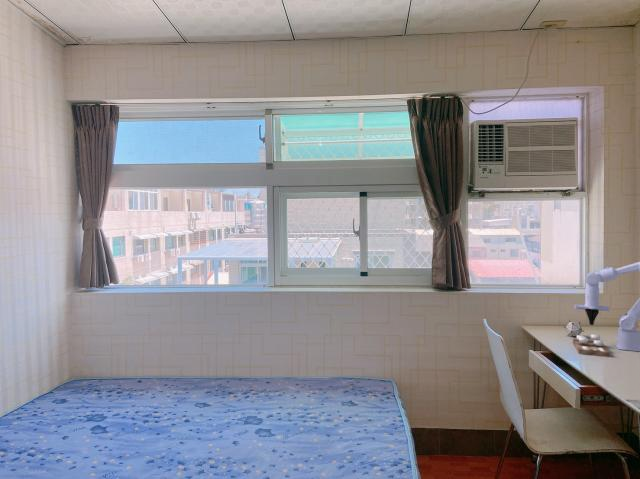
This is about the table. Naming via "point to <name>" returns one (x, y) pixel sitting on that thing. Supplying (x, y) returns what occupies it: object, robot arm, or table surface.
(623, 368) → the table surface
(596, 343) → the button
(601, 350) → the button board
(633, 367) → the table surface
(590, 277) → the robot arm
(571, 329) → the game die
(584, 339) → the button
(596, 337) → the button
